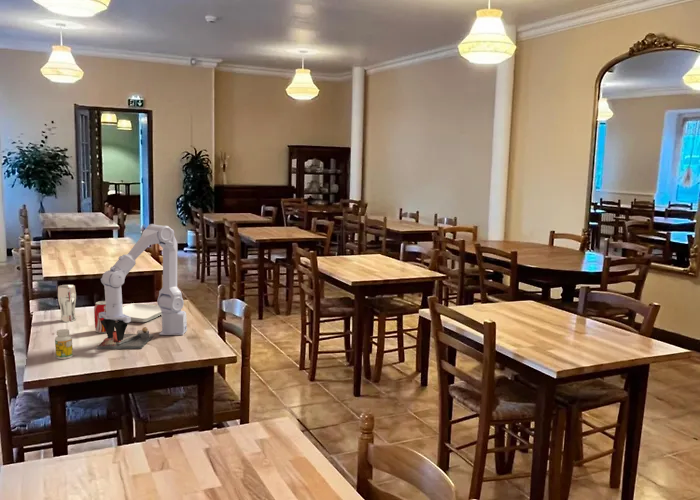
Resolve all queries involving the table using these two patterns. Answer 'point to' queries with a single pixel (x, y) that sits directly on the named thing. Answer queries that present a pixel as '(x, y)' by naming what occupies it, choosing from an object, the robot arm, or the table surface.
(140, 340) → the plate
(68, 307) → the beer glass
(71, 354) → the supplement bottle
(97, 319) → the soda can
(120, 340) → the lever
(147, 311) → the salad plate
